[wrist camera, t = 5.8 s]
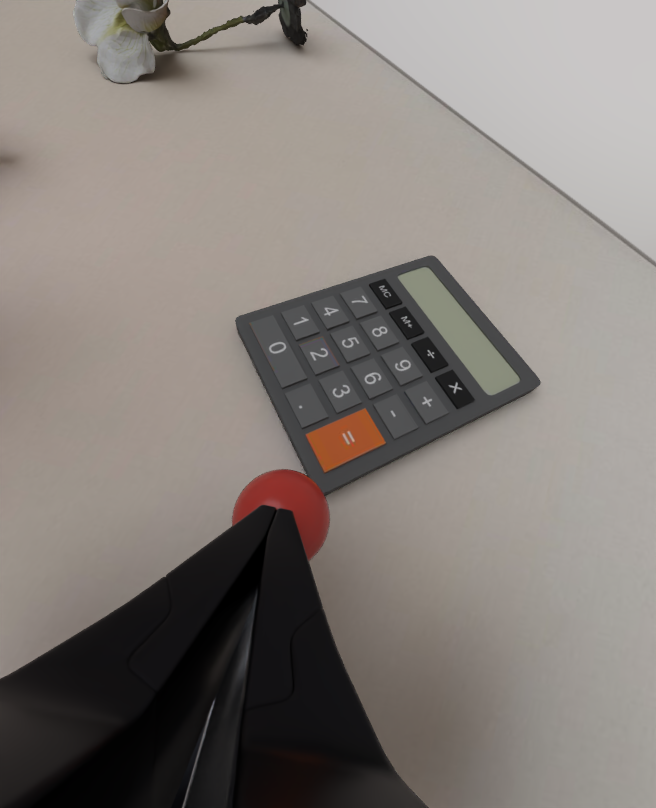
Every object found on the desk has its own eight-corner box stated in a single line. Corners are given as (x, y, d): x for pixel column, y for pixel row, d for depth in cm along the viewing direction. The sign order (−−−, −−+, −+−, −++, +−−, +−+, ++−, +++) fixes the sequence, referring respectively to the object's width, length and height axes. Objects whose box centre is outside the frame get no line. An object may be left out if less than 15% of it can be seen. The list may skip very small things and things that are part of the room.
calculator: (232, 315, 20) (434, 252, 24) (235, 325, 21) (430, 262, 25) (319, 494, 16) (545, 382, 20) (318, 498, 17) (535, 389, 21)
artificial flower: (318, 75, 39) (327, -52, 29) (123, 128, 36) (59, 4, 26) (287, 13, 40) (285, -131, 30) (93, 59, 36) (20, -87, 27)
